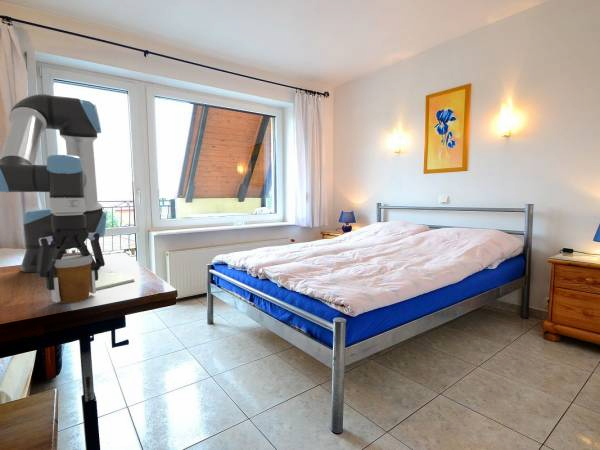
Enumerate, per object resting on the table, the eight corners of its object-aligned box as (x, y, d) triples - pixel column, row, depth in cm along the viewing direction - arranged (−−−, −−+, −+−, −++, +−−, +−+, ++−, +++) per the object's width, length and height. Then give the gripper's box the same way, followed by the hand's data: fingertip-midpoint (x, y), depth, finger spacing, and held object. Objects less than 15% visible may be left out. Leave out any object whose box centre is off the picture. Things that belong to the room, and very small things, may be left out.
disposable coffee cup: (96, 292, 94) (93, 252, 93) (94, 301, 86) (91, 257, 84) (56, 297, 89) (53, 255, 88) (50, 307, 81) (46, 261, 80)
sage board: (64, 283, 102) (64, 281, 102) (109, 274, 114) (109, 272, 114) (88, 292, 94) (87, 289, 94) (134, 281, 105) (134, 278, 105)
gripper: (24, 217, 74) (32, 311, 77) (116, 212, 92) (120, 289, 94) (13, 215, 78) (21, 305, 81) (103, 211, 96) (107, 285, 98)
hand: (74, 296), depth 87 cm, fingers closed on disposable coffee cup, 8 cm apart
